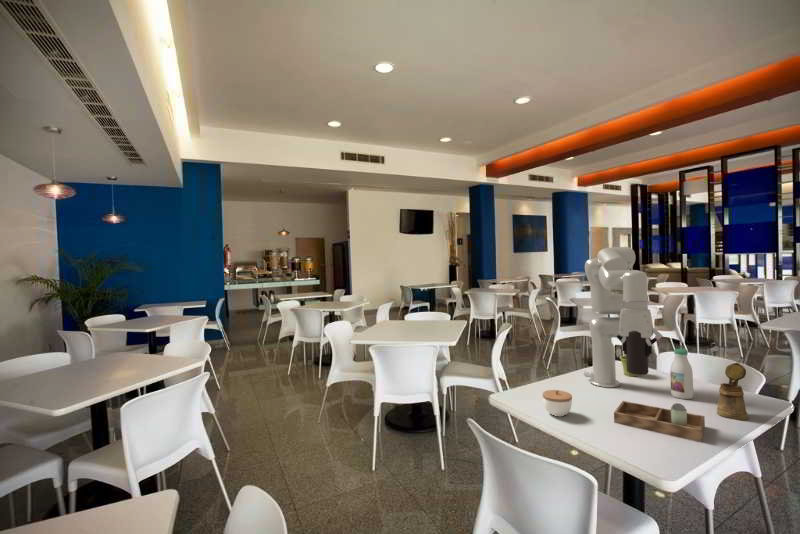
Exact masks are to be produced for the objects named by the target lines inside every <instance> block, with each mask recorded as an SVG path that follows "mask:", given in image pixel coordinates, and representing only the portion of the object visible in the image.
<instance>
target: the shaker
mask: <svg viewBox="0 0 800 534" xmlns="http://www.w3.org/2000/svg"><path fill="white" fill-rule="evenodd" d="M670 410H671V423H672V424H676V425H681V426H686V427H687V413H688V410H687V409H686V406H684V405H683V404H681V403H680V402H679V403H678V402H677V403H673V404H672V406H671V407H670Z"/></svg>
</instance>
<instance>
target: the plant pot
mask: <svg viewBox="0 0 800 534" xmlns="http://www.w3.org/2000/svg"><path fill="white" fill-rule="evenodd" d="M619 359H620V361H621V365H622V370H623V375H624V376H625V375H626V377H638V376H639V375H637V374H632V373H629V372H627V364H626V355H622V356H619Z"/></svg>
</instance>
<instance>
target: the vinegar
mask: <svg viewBox="0 0 800 534" xmlns="http://www.w3.org/2000/svg"><path fill="white" fill-rule="evenodd" d="M646 346H647V342H646V338H642V337H641V333H639V332H637V331H630V332H629V336H628V337H626V354H625V356H626V364H627V372H629V373H632V374H637V375H638V376H642V375H644V376H646V375H648V374H649V357H647V356H646Z"/></svg>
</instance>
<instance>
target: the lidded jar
mask: <svg viewBox="0 0 800 534" xmlns="http://www.w3.org/2000/svg"><path fill="white" fill-rule="evenodd" d="M542 401H543V406H544V409H545V410H546V411H547V412H548V414H549V413H550V414H552V415H556V416H564V415H566V416H567V414H569V412H570V411H571V409H572V405H573V396H572V394H571V393H570V392H568V391H565V390H559V389H548V390H544V391H543V392H542ZM550 414H549V415H550ZM552 415H551V416H552ZM564 417H565V416H564Z"/></svg>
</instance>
